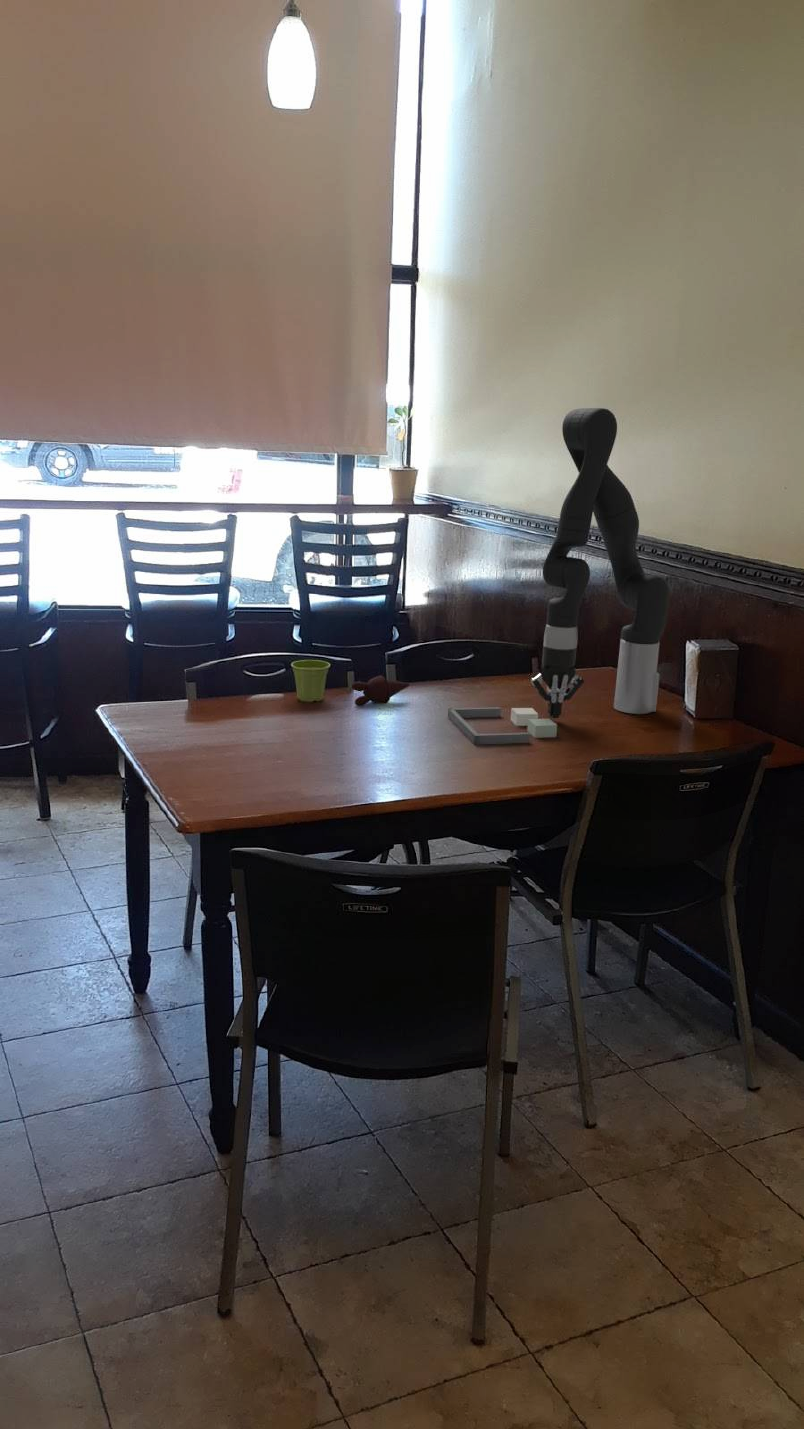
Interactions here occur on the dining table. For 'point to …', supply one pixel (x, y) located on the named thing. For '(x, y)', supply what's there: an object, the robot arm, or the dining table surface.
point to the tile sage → (542, 728)
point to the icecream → (377, 690)
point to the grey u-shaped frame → (476, 738)
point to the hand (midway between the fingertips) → (553, 717)
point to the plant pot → (310, 679)
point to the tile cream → (522, 716)
